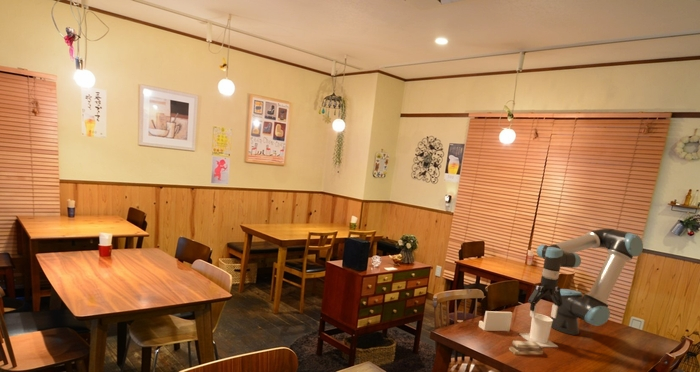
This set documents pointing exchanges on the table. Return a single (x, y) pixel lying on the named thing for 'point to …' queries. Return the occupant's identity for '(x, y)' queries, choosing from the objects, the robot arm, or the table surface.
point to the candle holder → (540, 328)
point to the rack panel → (496, 321)
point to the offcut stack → (526, 347)
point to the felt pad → (548, 344)
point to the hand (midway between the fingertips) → (542, 317)
